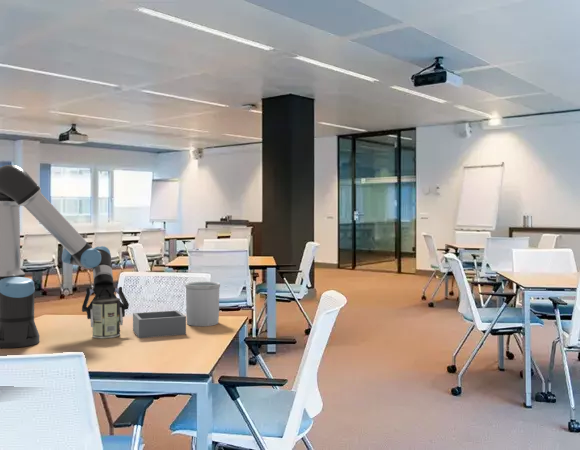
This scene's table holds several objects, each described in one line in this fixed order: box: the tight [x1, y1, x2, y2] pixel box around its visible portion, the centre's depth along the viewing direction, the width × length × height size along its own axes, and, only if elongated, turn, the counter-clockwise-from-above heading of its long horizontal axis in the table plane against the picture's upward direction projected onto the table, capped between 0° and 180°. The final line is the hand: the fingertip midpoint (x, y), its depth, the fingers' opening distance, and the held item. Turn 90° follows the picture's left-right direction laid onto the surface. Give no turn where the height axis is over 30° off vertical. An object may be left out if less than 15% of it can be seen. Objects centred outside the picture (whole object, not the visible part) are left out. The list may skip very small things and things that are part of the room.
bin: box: [132, 310, 187, 339], centre depth 220 cm, size 18×16×7 cm
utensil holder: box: [185, 280, 221, 327], centre depth 240 cm, size 15×15×18 cm
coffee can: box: [91, 297, 121, 339], centre depth 213 cm, size 10×10×14 cm
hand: (107, 324), depth 210 cm, fingers closed on coffee can, 10 cm apart
